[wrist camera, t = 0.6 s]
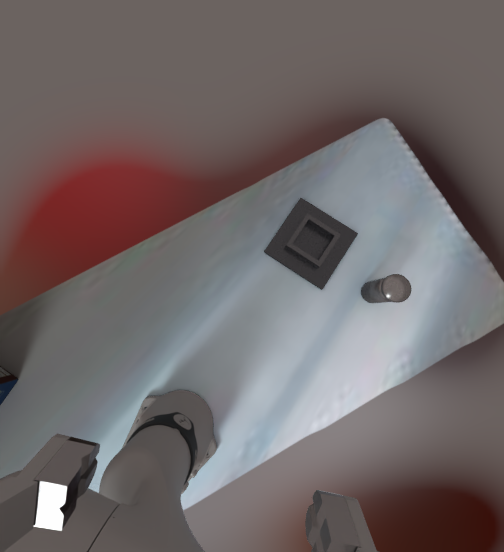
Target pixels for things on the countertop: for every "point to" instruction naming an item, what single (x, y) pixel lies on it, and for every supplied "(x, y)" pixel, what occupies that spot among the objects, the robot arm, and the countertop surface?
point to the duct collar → (311, 243)
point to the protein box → (6, 383)
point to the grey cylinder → (387, 289)
